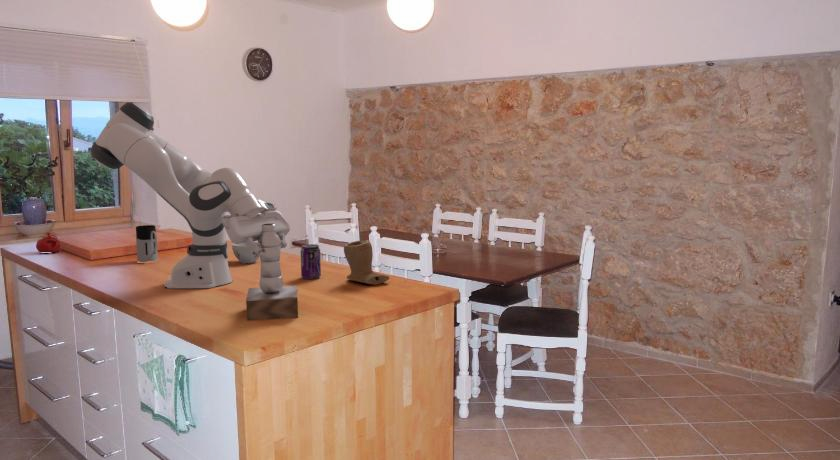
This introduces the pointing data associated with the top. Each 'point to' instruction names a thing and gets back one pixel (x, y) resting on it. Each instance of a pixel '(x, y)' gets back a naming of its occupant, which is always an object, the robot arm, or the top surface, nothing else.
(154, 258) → the grey and black mug
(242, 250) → the teacup
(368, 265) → the brown boot
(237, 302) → the top surface
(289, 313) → the metal riser
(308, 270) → the beverage can
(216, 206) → the robot arm
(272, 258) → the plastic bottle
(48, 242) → the pomegranate
